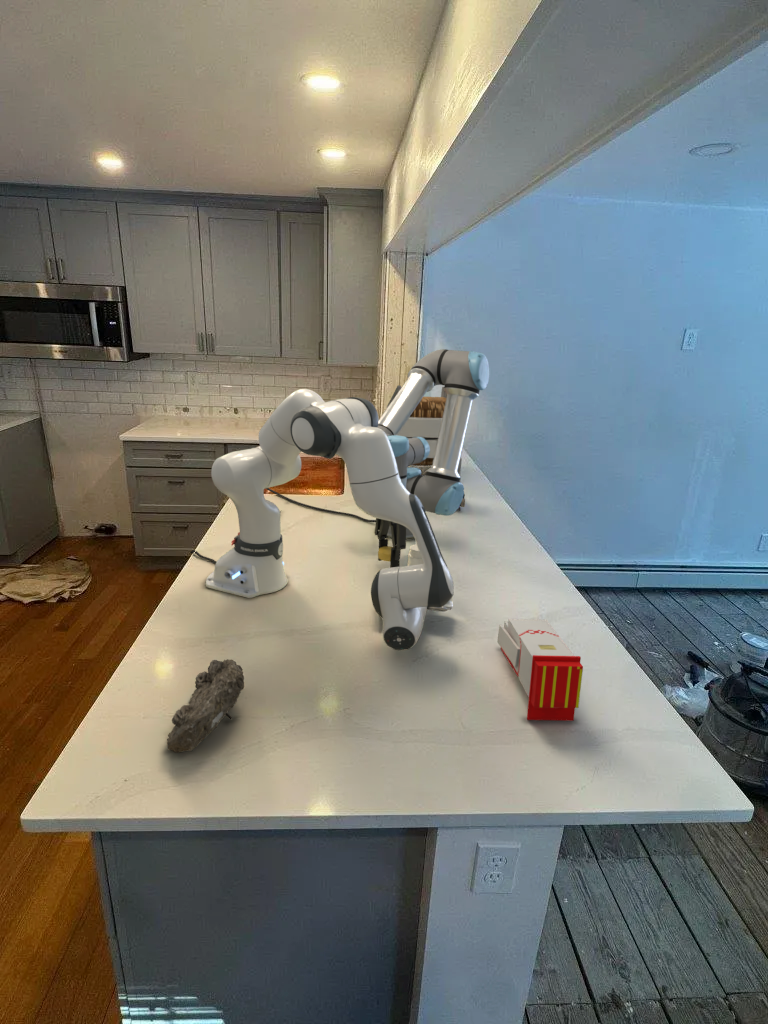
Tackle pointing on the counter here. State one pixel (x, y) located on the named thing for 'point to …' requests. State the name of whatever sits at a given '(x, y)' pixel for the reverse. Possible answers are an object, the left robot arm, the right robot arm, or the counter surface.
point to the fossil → (206, 705)
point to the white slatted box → (426, 423)
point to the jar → (414, 556)
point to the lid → (385, 553)
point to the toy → (542, 668)
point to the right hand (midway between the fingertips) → (388, 563)
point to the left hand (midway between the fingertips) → (417, 580)
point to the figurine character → (462, 502)
